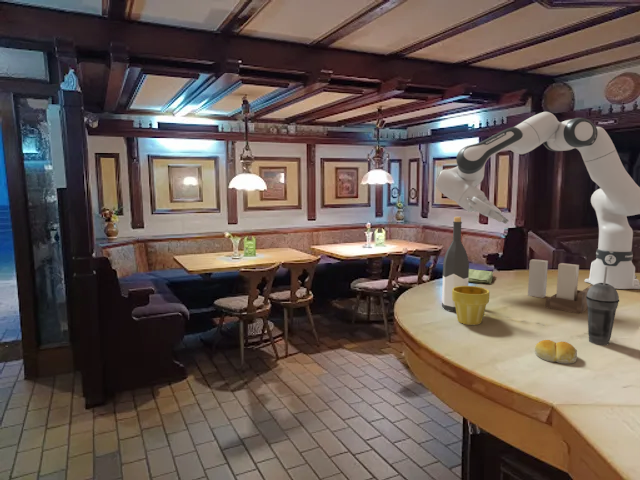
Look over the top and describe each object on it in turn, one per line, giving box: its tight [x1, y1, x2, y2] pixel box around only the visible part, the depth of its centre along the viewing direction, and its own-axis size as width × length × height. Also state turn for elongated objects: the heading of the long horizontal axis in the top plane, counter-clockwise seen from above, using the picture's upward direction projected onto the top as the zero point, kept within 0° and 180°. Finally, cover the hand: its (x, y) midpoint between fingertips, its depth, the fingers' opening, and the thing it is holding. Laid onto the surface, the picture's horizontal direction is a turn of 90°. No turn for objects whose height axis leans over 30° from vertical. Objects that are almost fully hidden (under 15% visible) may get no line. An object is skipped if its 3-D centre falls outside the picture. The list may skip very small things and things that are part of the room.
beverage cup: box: [586, 267, 620, 346], centre depth 115 cm, size 7×7×20 cm
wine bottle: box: [441, 216, 470, 312], centre depth 145 cm, size 8×8×30 cm
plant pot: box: [452, 285, 490, 326], centre depth 133 cm, size 10×10×10 cm
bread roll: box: [534, 339, 578, 365], centre depth 107 cm, size 8×9×4 cm
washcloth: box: [468, 268, 494, 285], centre depth 191 cm, size 13×18×3 cm
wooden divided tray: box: [545, 284, 593, 315], centre depth 145 cm, size 16×10×8 cm, turn 136°
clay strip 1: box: [527, 258, 549, 299], centre depth 156 cm, size 3×5×14 cm, turn 46°
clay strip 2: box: [555, 262, 580, 301], centre depth 140 cm, size 3×5×14 cm, turn 46°
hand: (504, 221), depth 159 cm, fingers open, 8 cm apart
